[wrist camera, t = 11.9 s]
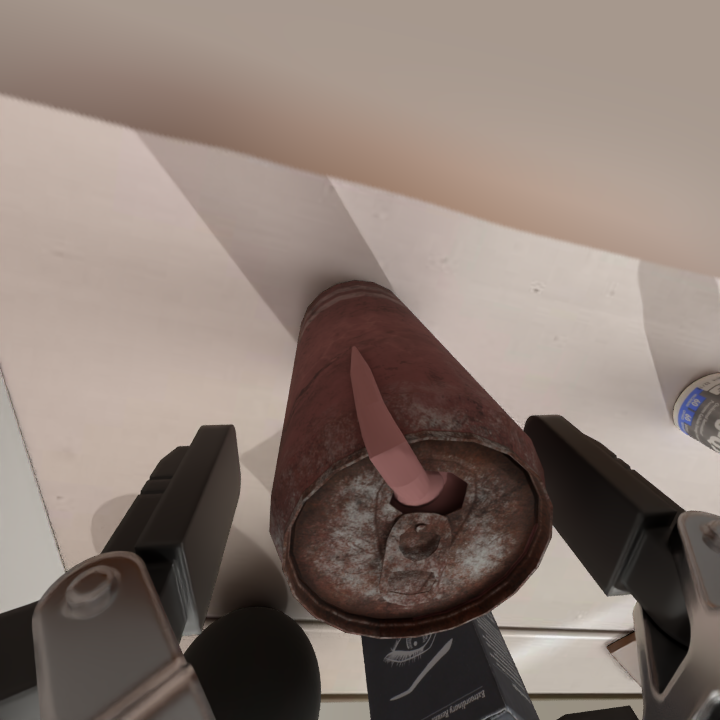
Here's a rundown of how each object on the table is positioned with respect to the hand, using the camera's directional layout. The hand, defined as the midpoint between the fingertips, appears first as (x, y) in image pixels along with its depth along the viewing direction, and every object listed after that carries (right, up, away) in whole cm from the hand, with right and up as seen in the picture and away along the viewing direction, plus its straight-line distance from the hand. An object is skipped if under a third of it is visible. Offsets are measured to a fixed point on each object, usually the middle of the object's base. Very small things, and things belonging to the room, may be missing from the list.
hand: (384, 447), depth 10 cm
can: (-1, +4, +10) cm, 11 cm away
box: (+4, -14, +18) cm, 23 cm away
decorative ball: (-9, -18, +18) cm, 27 cm away
